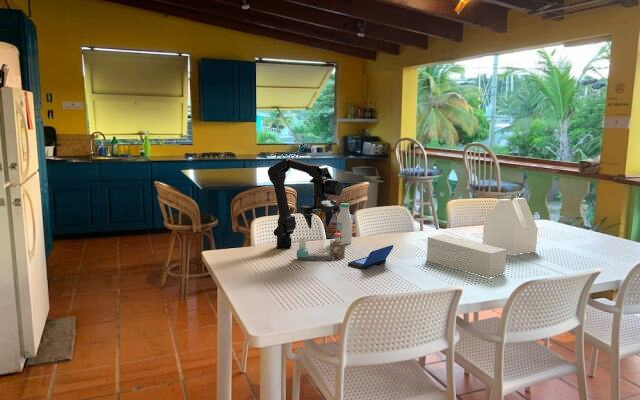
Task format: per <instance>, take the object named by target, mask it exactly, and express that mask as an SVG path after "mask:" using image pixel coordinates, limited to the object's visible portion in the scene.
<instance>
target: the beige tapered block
mask: <svg viewBox="0 0 640 400" xmlns="http://www.w3.org/2000/svg"><path fill="white" fill-rule="evenodd" d="M482 228H483V232H482V244H486V245H490V246H494V247H498V248H502V249H506V253H509V254H511V255H510V256H512V255H514V254H520V253H527V254H529V253H528V252H534V253H536V252H537V241H538V240H537V239H538V232H539V231H538V230H539V229H538V226H537V224H536V221H535V218H534V216H533V213H532V211H531V208H530V206H529V203H528V201H527V198H525V197H514V198H513V199H511V198H501V199H498V201H497V202H496V204H495V205H494V207H493V209H492V210H491V211H490V214H488V216H487V218H486V220H485V221H484V222H483V227H482ZM509 254H508V255H509ZM520 255H521V254H520ZM514 256H515V255H514Z"/></svg>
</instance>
